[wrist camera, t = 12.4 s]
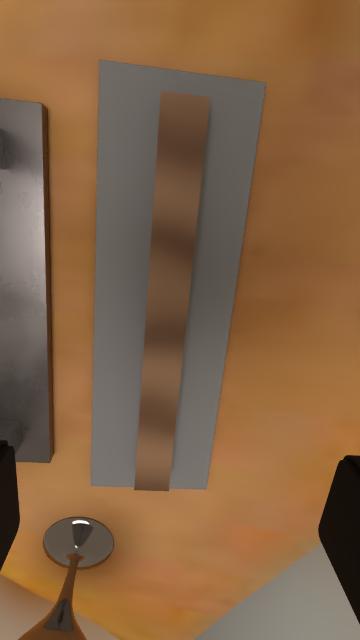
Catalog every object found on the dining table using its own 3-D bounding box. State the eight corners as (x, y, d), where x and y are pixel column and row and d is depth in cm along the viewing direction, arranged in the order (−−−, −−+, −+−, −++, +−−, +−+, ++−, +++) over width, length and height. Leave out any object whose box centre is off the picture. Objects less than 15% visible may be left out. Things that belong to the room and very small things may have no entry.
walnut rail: (160, 103, 22) (161, 90, 20) (205, 108, 23) (210, 97, 20) (135, 469, 31) (134, 490, 29) (167, 471, 32) (168, 490, 29)
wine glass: (22, 545, 34) (-76, 784, 20) (75, 500, 33) (11, 721, 19) (81, 583, 36) (31, 824, 22) (133, 542, 35) (116, 769, 21)
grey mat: (100, 63, 22) (99, 59, 22) (263, 85, 23) (266, 82, 22) (91, 481, 32) (90, 486, 32) (205, 484, 33) (206, 489, 33)
